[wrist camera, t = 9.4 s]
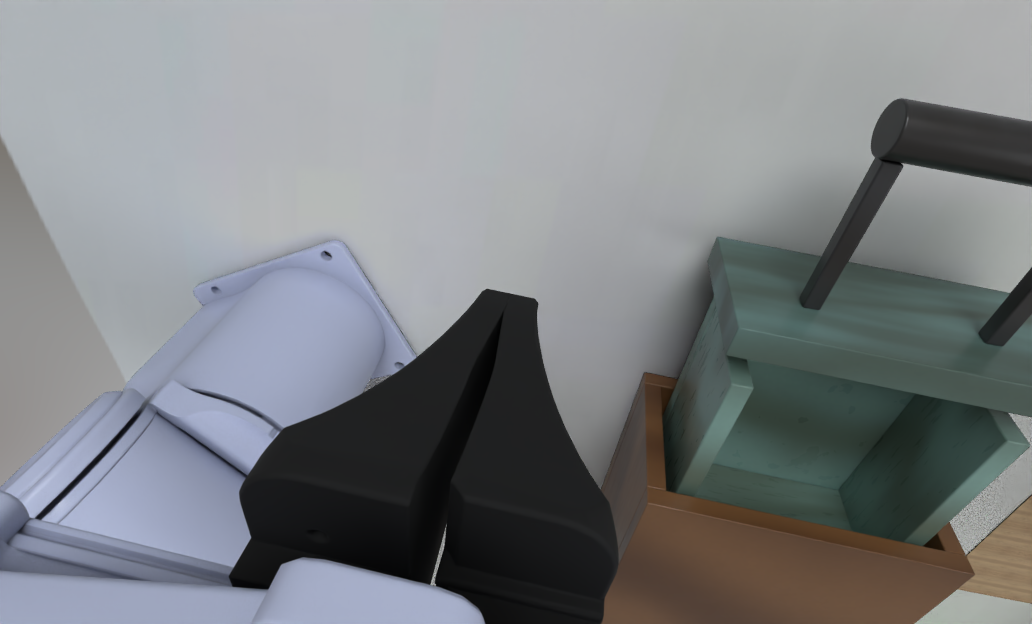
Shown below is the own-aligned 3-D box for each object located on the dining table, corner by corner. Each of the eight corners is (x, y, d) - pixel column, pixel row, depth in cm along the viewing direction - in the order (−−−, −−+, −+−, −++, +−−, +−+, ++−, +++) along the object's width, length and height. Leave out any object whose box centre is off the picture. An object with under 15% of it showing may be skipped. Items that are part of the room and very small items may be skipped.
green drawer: (790, 51, 18) (843, 109, 14) (1161, 117, 18) (1346, 200, 13) (635, 440, 30) (635, 540, 25) (854, 486, 29) (894, 598, 25)
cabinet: (644, 371, 28) (647, 503, 22) (902, 424, 28) (976, 574, 22) (588, 522, 37) (579, 648, 31) (785, 566, 36) (815, 703, 30)
